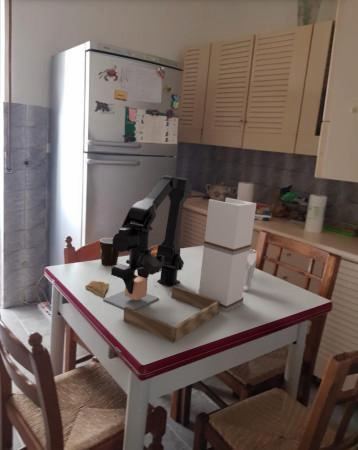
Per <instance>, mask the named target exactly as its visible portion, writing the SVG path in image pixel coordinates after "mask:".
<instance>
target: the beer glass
mask: <svg viewBox="0 0 358 450" xmlns="http://www.w3.org/2000/svg"><path fill="white" fill-rule="evenodd" d="M257 257H258V251H257V250H256V249H254V248H253V249H252V248H250V254H248V257H247V264H246V272H245V279H244V286H243V292H248V291H249V292H250V291H251V290H252V278H253V276H254V275H253V274H254V272H255V269H256V264H257Z"/></svg>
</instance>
